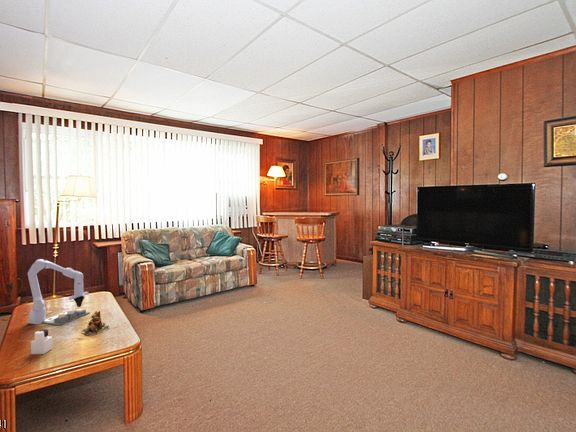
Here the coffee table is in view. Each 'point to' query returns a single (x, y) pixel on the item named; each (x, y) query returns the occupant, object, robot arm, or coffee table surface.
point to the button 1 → (61, 315)
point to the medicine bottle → (41, 342)
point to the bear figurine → (95, 325)
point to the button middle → (70, 312)
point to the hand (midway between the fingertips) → (79, 306)
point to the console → (56, 321)
